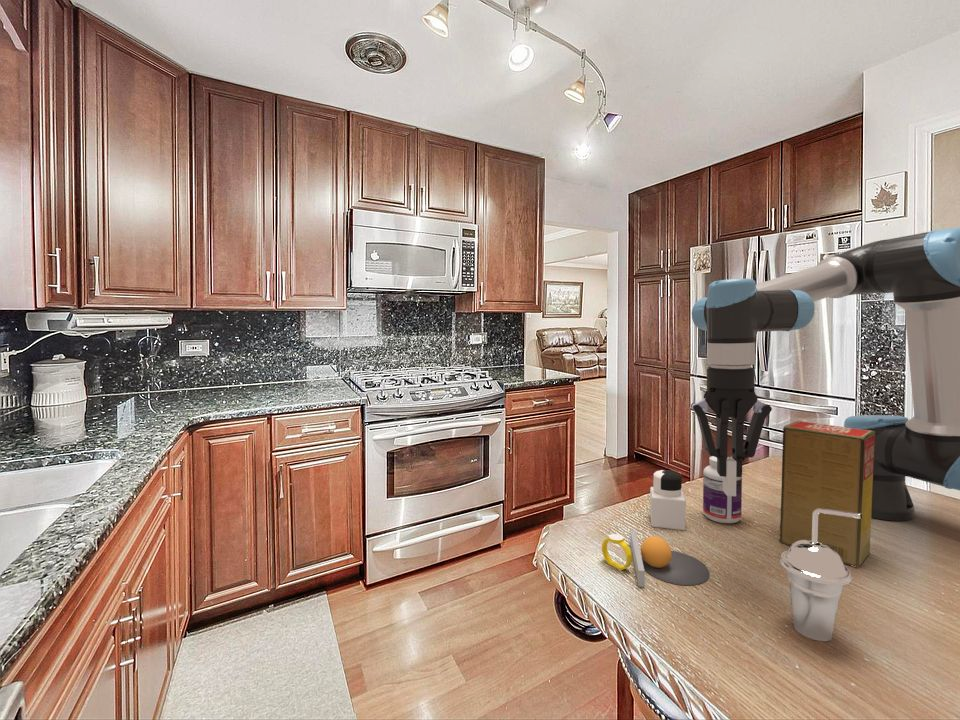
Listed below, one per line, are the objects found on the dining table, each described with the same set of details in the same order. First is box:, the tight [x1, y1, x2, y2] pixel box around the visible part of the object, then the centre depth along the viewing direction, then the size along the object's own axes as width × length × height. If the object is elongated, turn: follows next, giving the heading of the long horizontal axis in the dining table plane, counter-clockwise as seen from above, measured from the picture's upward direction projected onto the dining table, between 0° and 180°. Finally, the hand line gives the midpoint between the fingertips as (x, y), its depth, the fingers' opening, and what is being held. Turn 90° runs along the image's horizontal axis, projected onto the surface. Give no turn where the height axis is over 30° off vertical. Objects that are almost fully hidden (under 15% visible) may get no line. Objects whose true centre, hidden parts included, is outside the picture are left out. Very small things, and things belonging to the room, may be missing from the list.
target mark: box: [641, 550, 710, 587], centre depth 83 cm, size 12×12×1 cm
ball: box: [640, 536, 672, 568], centre depth 83 cm, size 6×6×6 cm
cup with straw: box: [779, 508, 862, 642], centre depth 64 cm, size 8×9×20 cm
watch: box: [601, 533, 633, 571], centre depth 84 cm, size 6×3×6 cm, turn 37°
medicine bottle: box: [649, 469, 687, 531], centre depth 101 cm, size 7×7×12 cm
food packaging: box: [779, 420, 875, 568], centre depth 88 cm, size 13×9×25 cm
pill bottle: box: [702, 455, 743, 524], centre depth 103 cm, size 8×8×14 cm
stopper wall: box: [629, 528, 646, 588], centre depth 85 cm, size 1×16×3 cm, turn 166°
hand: (729, 493), depth 80 cm, fingers closed
